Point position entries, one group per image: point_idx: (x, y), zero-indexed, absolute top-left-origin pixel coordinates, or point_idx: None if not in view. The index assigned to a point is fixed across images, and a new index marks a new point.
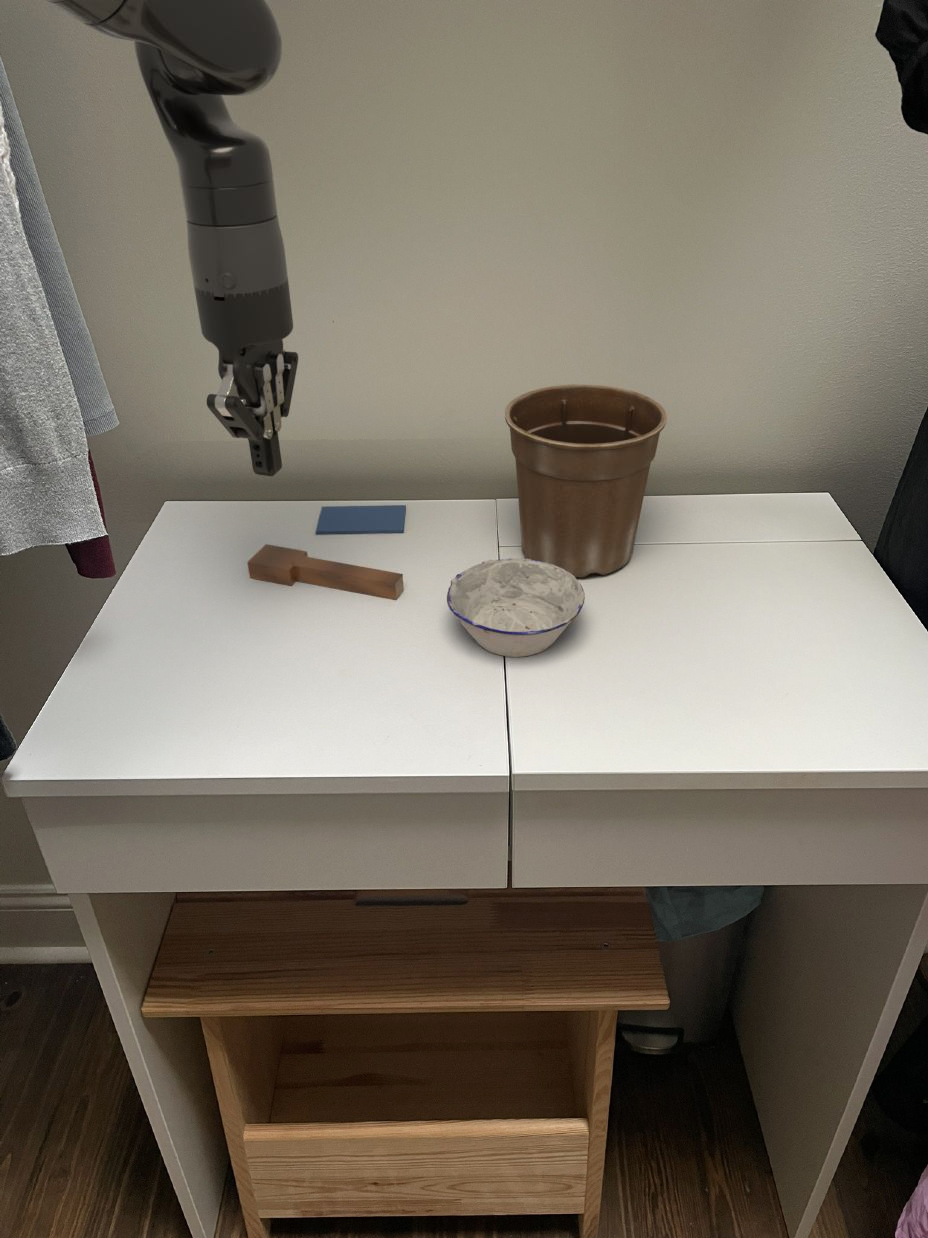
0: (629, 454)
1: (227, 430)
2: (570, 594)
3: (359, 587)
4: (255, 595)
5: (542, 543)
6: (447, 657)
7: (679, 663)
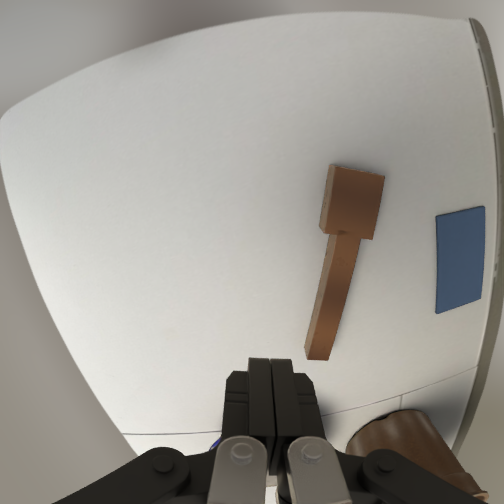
0: None
1: (111, 472)
2: None
3: (314, 313)
4: (290, 187)
5: (362, 452)
6: (219, 400)
7: None
